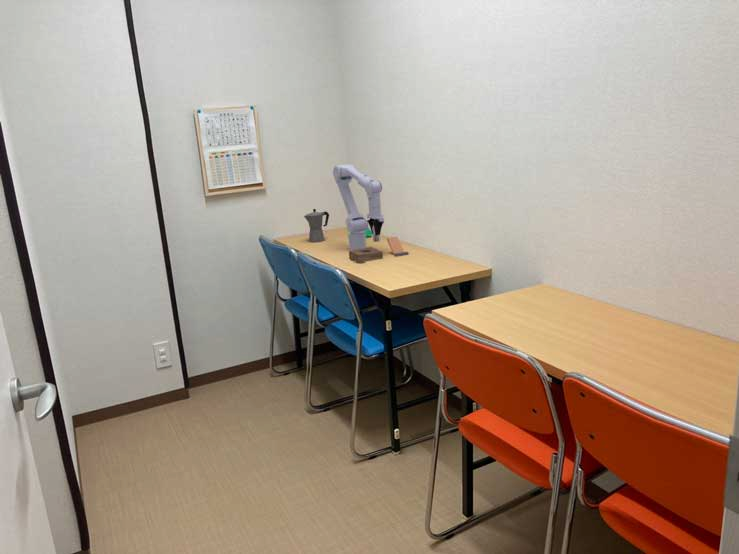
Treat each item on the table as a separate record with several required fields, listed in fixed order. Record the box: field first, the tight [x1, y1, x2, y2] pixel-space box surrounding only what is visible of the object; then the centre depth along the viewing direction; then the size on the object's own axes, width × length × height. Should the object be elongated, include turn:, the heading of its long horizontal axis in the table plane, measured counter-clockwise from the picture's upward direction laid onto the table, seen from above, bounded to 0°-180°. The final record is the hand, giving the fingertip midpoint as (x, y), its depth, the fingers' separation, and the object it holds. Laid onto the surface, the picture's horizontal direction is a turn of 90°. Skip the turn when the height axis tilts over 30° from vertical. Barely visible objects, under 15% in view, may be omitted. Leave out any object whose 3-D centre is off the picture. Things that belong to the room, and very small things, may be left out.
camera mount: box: [347, 227, 373, 239], centre depth 329 cm, size 12×8×10 cm, turn 112°
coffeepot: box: [303, 208, 330, 243], centre depth 326 cm, size 15×9×18 cm, turn 122°
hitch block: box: [348, 246, 384, 264], centre depth 278 cm, size 12×12×4 cm
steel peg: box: [372, 225, 381, 243], centre depth 285 cm, size 3×3×8 cm
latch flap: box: [386, 236, 405, 255], centre depth 284 cm, size 11×6×1 cm
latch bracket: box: [393, 251, 410, 258], centre depth 280 cm, size 2×7×2 cm, turn 116°
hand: (376, 234), depth 285 cm, fingers closed on steel peg, 3 cm apart
